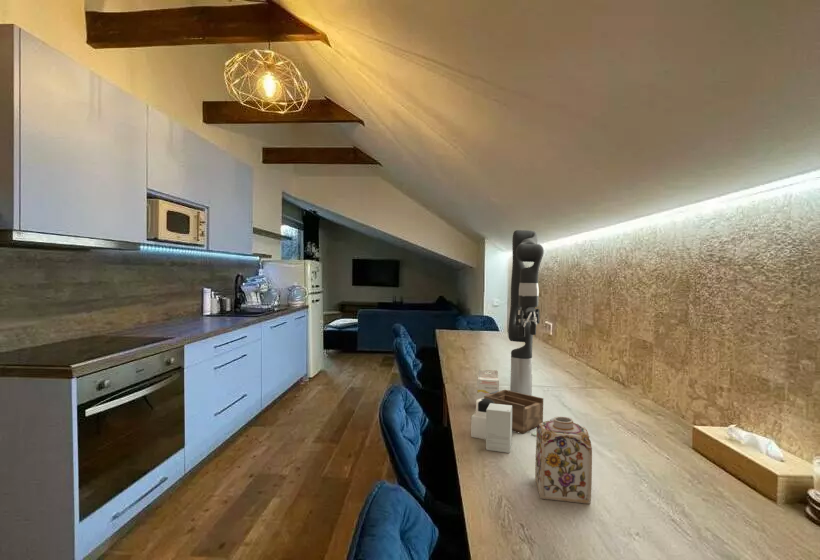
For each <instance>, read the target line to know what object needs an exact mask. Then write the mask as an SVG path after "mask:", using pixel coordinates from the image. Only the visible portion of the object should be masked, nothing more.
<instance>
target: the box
mask: <svg viewBox="0 0 820 560" xmlns="http://www.w3.org/2000/svg"><path fill="white" fill-rule="evenodd" d="M484 398H487V399H491V400H492V401H494V404H503V405H512V432H515V433H518V432H519V434H521V435H523V434H526V433H528V432H530V431H532V430H535V429H537V427H538V426H539V424H540V423H542V422H544V397H539V396H535V395H527V394H522V393H518V392H513V391H510V389H502V390H499V392H496V393H493V394H489V395H486V396H484Z"/></svg>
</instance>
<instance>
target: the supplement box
mask: <svg viewBox="0 0 820 560" xmlns="http://www.w3.org/2000/svg"><path fill="white" fill-rule="evenodd" d="M512 446H513V431H512V405H503V404H493V403H490V404H489V406H488V408H487V409H486V440H485V448H486V449H485V450H486V451H491V452H499V453H500V452H501V453H508V454H510V453H511V450H512Z"/></svg>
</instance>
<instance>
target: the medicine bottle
mask: <svg viewBox="0 0 820 560" xmlns="http://www.w3.org/2000/svg"><path fill="white" fill-rule="evenodd" d="M490 403H493V404H494V401H492V400H491V399H487V398H481V399H478V400H477V399H476V400H475V412H474V413H473V414H472V415H471V418H470V419H471V422H470V423H471V424H470V425H471V426H470V432H471V433H470V436H471V438H474V439H475V438H476V439H480V440H485V439H486V409H487V408H488V406H489V404H490Z"/></svg>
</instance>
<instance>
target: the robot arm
mask: <svg viewBox="0 0 820 560" xmlns="http://www.w3.org/2000/svg"><path fill="white" fill-rule="evenodd" d="M538 238H539V237H538V233H537V232H536V231H535V230H529V229H528V230H527V229H522V230H521V229H517V230H514V231H513V233H512V266H511V267H512V269H511V280H510V281H511V282H510V307H509V308H510V310H509V319H508V330H507V334H508V335H507V337H508V339H509V341H510V342H517V343H524V345H522V346H520V347H518V348H514V349H512V350H511V352H510V382H509V383H510V384H509V391H513V392H518V393H522V394H527V395H531V396H533V393H532V392H533V341H534V340H533V339H534V336H535V335H536V334H537V326H538V324H540V321H541V320H540V318H541V317H540V316H541V315H540V309H539V308H537V307H539V272H540V268H541V263H542V261H543V257H544V254H545V253H544V251H545V250H544V247H543V245H542V244H539V243H538ZM526 262H527V263H528V262H529V263H533V264H532V265H531V266H529V267H527V266H526V265H525V264H524V263H526Z"/></svg>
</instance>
